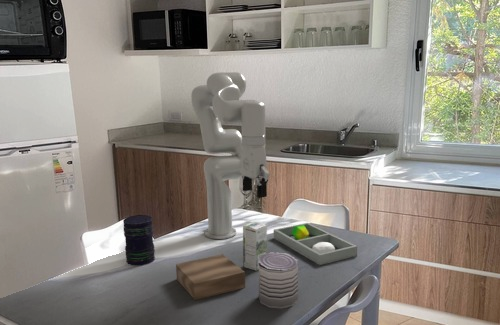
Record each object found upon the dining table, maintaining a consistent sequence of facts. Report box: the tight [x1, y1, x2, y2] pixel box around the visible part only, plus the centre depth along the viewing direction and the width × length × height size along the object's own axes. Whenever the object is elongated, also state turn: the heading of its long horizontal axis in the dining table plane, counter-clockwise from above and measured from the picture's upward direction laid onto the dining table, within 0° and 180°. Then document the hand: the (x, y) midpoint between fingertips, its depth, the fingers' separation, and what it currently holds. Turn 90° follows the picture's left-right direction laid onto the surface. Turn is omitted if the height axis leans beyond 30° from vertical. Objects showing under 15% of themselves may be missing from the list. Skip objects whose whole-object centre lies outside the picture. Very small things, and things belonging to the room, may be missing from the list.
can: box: [258, 251, 299, 309], centre depth 130 cm, size 11×11×12 cm
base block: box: [175, 253, 246, 301], centre depth 141 cm, size 16×16×5 cm
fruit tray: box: [273, 222, 358, 266], centre depth 169 cm, size 30×16×4 cm, turn 28°
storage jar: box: [122, 214, 156, 267], centre depth 159 cm, size 10×10×15 cm
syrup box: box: [242, 221, 268, 272], centre depth 152 cm, size 6×6×14 cm
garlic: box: [311, 242, 336, 254], centre depth 163 cm, size 8×7×4 cm
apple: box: [292, 225, 310, 240], centre depth 175 cm, size 7×6×9 cm
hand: (254, 193), depth 148 cm, fingers open, 9 cm apart
